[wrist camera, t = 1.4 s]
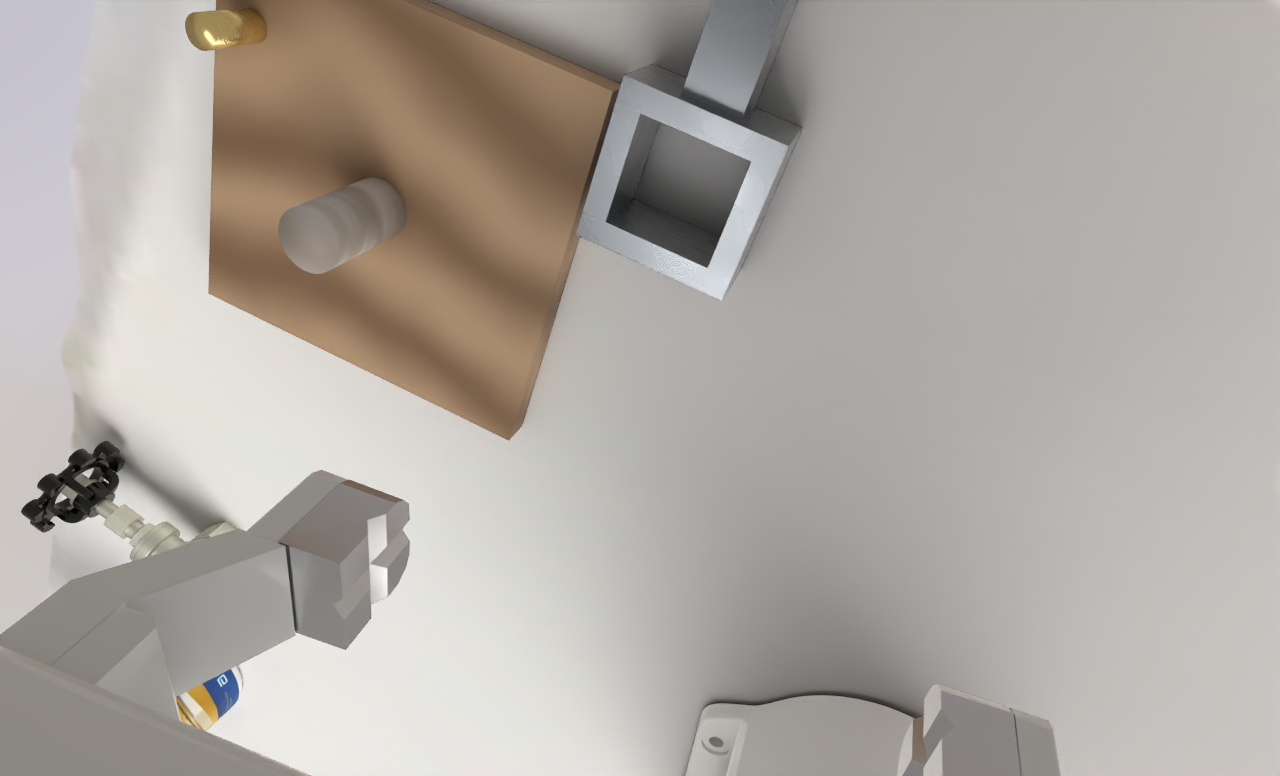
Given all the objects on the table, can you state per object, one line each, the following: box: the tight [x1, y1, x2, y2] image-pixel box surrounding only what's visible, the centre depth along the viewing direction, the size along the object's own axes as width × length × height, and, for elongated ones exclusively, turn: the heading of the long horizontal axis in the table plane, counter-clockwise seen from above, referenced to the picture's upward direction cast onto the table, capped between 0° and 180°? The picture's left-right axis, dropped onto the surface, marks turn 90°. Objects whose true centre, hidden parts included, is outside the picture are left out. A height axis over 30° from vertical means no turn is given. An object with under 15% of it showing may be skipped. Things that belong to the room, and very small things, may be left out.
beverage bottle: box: [176, 666, 242, 731], centre depth 55 cm, size 8×8×20 cm
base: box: [209, 0, 621, 440], centre depth 35 cm, size 18×18×6 cm
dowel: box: [185, 8, 267, 51], centre depth 34 cm, size 1×1×4 cm
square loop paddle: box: [576, 0, 803, 301], centre depth 30 cm, size 13×6×4 cm, turn 161°
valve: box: [21, 441, 236, 561], centre depth 52 cm, size 7×7×12 cm
